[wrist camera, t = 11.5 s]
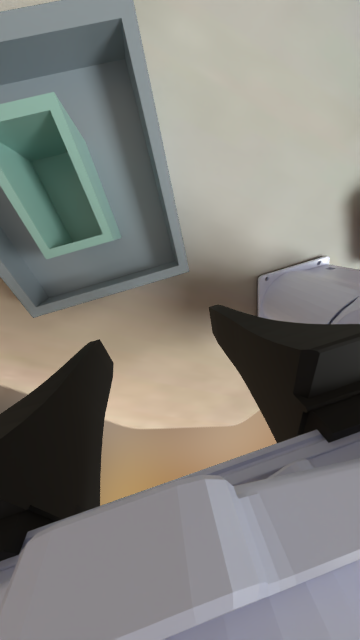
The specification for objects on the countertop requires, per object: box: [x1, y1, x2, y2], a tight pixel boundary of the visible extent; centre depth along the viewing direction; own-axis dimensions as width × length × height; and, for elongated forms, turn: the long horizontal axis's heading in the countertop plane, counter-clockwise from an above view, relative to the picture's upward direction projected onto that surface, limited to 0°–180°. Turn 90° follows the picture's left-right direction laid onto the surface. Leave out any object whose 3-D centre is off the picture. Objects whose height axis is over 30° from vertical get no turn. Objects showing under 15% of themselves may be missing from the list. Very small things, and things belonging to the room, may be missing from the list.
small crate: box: [0, 92, 122, 259], centre depth 12 cm, size 4×6×5 cm
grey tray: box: [0, 0, 189, 318], centre depth 13 cm, size 15×15×3 cm
